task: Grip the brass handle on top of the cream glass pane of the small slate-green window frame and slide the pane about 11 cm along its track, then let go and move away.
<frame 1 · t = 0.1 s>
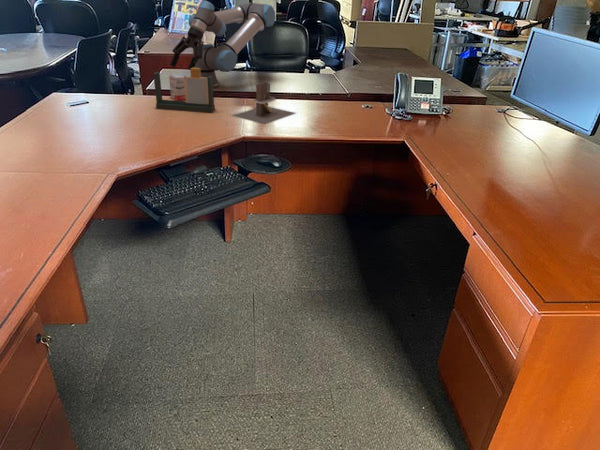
hand: (181, 68, 230), 15 cm above the table, tool tilted 35°, fingers open, 13 cm apart
architectural model: (264, 114, 218), on the table
window sash: (196, 86, 213), point 11 cm above the table, slide at 0.0 cm
ink box: (178, 99, 236), on the table
window frame: (185, 109, 219), on the table
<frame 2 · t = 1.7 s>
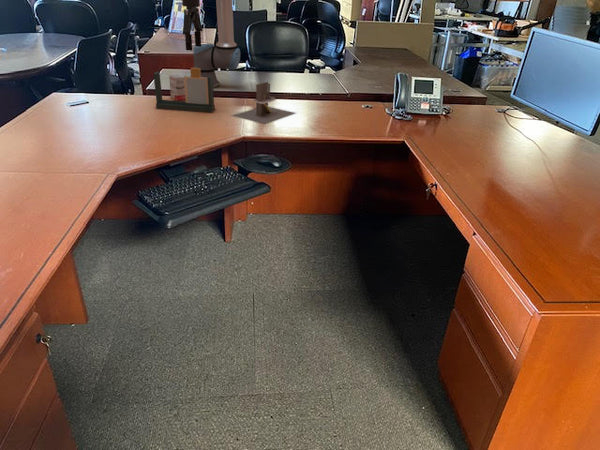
hand: (193, 48, 204), 29 cm above the table, tool pointing down, fingers open, 13 cm apart
nothing on the table moved.
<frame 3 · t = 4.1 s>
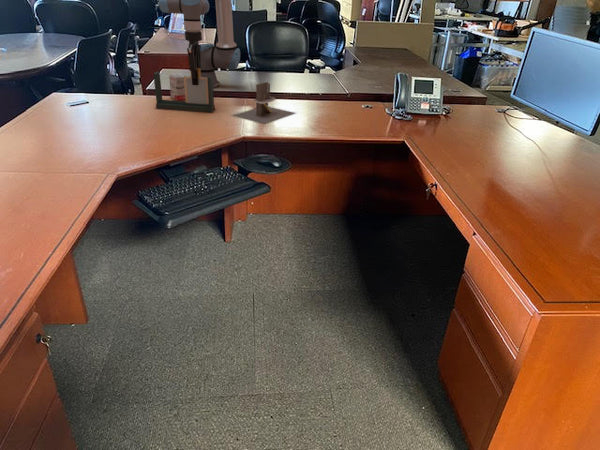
hand: (196, 84, 212), 13 cm above the table, tool pointing down, fingers closed on window sash, 3 cm apart
window sash: (196, 86, 213), point 11 cm above the table, slide at 0.0 cm, touching gripper
everything else where it was.
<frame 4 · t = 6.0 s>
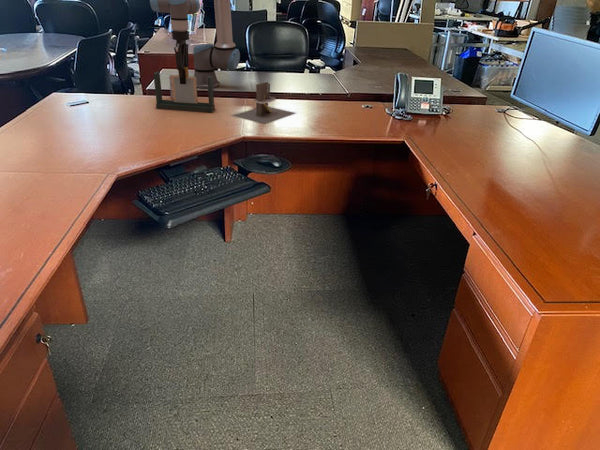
hand: (184, 83, 213), 13 cm above the table, tool pointing down, fingers closed on window sash, 3 cm apart
window sash: (184, 85, 213), point 11 cm above the table, slide at 6.0 cm, touching gripper
everything else where it was.
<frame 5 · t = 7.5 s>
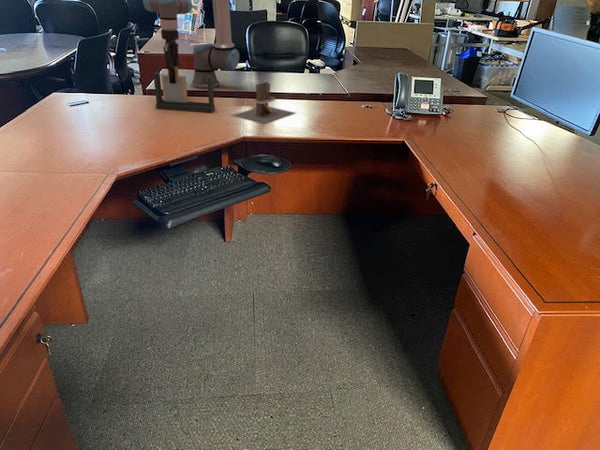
hand: (174, 82, 213), 12 cm above the table, tool pointing down, fingers closed on window sash, 3 cm apart
window sash: (174, 85, 214), point 11 cm above the table, slide at 11.0 cm, touching gripper
everything else where it was.
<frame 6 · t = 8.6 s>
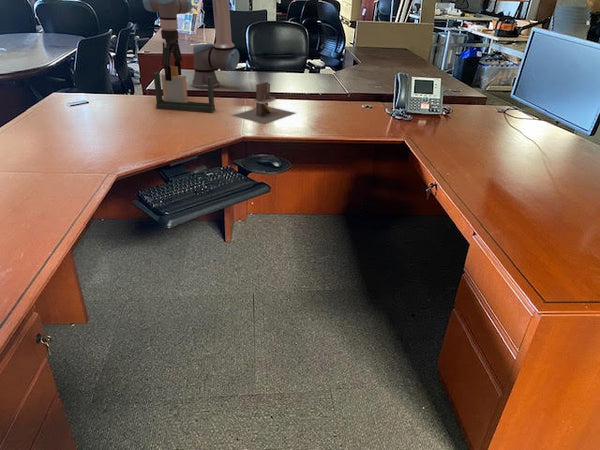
hand: (173, 77, 212), 15 cm above the table, tool pointing down, fingers open, 13 cm apart
window sash: (174, 85, 214), point 11 cm above the table, slide at 11.0 cm
everything else where it was.
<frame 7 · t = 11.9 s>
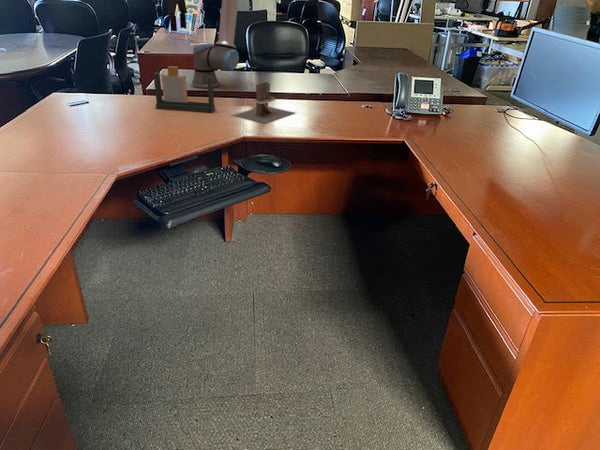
hand: (178, 29, 214), 35 cm above the table, tool pointing down, fingers open, 13 cm apart
nothing on the table moved.
at the end: window sash slide at 11.0 cm; the gripper is holding nothing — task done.
